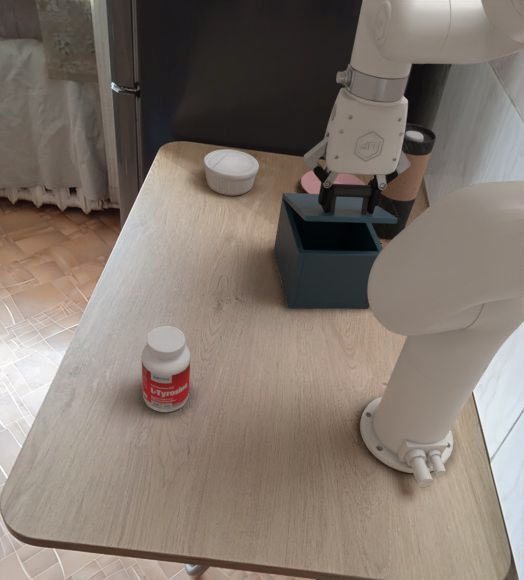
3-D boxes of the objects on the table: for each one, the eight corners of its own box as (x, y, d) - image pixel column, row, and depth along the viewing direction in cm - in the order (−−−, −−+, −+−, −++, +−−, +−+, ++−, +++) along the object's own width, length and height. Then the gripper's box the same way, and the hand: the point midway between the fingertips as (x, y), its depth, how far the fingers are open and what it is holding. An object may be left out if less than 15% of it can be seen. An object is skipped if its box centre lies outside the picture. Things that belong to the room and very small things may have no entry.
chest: (368, 308, 96) (386, 255, 88) (287, 308, 93) (298, 253, 85) (346, 252, 107) (360, 200, 99) (273, 250, 104) (282, 197, 96)
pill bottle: (146, 417, 74) (144, 359, 67) (139, 382, 78) (136, 324, 71) (193, 409, 76) (196, 352, 68) (184, 376, 80) (185, 318, 72)
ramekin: (200, 171, 122) (201, 147, 118) (251, 172, 124) (253, 149, 120) (205, 198, 114) (207, 174, 110) (260, 199, 116) (263, 175, 113)
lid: (396, 223, 84) (402, 189, 82) (305, 221, 81) (308, 185, 79) (360, 200, 99) (365, 170, 97) (282, 197, 96) (284, 166, 94)
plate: (288, 180, 123) (289, 172, 122) (343, 173, 128) (345, 165, 127) (319, 216, 114) (321, 207, 113) (378, 207, 120) (380, 198, 118)
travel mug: (403, 243, 111) (437, 146, 97) (364, 235, 111) (393, 137, 97) (404, 223, 116) (436, 128, 102) (367, 215, 117) (394, 119, 103)
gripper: (316, 90, 69) (294, 221, 81) (449, 98, 72) (408, 223, 84) (304, 69, 74) (285, 194, 86) (428, 78, 77) (392, 198, 89)
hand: (346, 207), depth 85 cm, fingers closed on lid, 6 cm apart
